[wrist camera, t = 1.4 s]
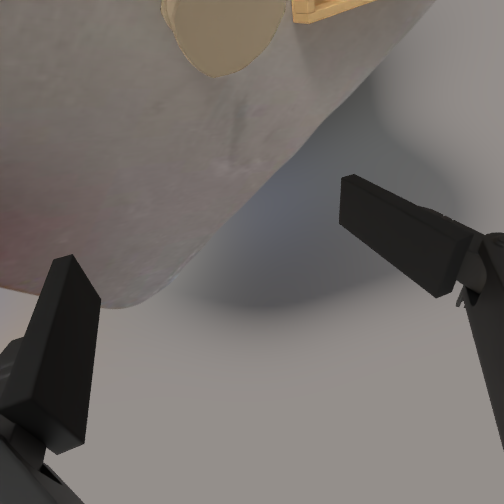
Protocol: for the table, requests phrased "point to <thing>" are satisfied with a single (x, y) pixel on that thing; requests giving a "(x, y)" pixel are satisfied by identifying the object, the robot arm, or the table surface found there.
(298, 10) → the tray
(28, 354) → the robot arm
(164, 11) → the handle
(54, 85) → the table surface
